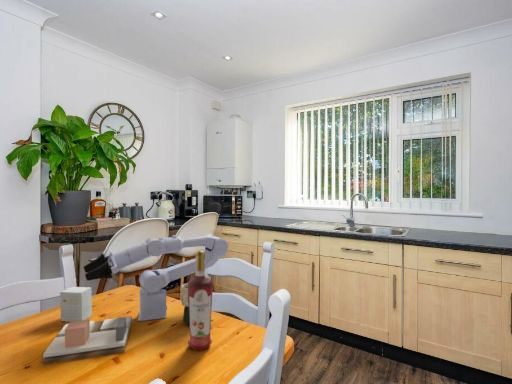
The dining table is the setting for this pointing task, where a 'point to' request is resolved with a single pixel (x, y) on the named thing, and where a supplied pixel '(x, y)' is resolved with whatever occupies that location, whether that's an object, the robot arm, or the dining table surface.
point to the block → (77, 333)
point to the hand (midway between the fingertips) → (85, 273)
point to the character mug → (185, 303)
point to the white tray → (91, 341)
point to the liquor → (200, 306)
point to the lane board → (94, 327)
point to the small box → (76, 304)
